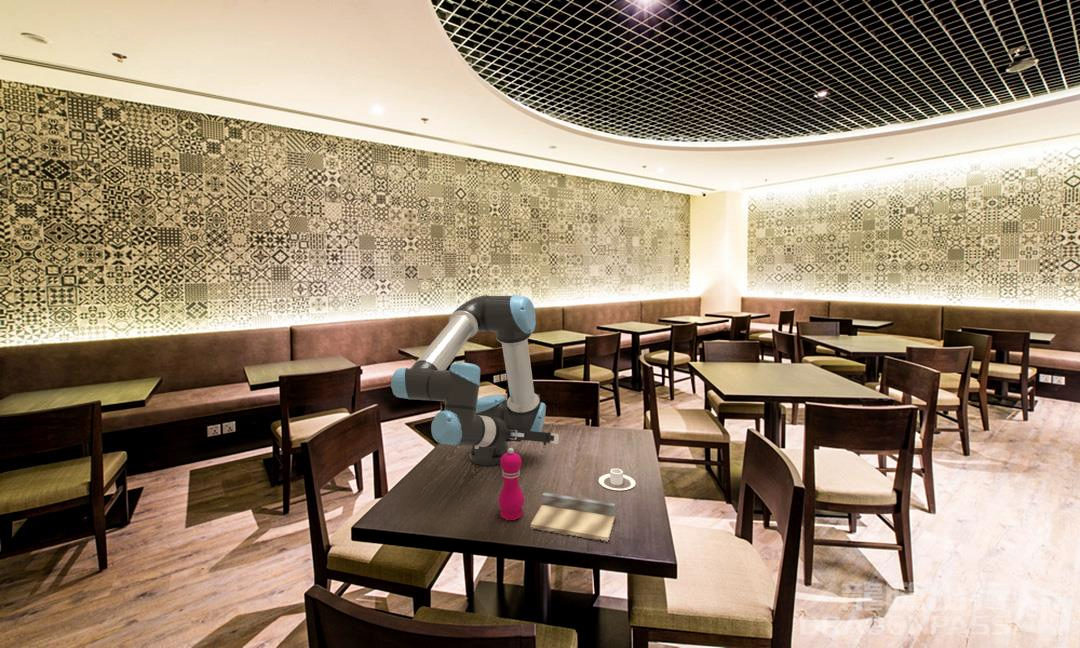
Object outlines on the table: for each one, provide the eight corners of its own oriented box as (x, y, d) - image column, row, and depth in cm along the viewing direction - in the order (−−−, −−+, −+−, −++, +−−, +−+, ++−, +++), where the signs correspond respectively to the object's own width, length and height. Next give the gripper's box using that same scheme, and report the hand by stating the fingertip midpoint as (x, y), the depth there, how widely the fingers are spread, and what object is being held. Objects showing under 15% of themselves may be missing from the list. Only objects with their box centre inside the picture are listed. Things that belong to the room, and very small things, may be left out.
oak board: (530, 529, 121) (530, 513, 121) (543, 507, 132) (543, 492, 132) (608, 543, 115) (608, 526, 114) (614, 518, 126) (615, 503, 126)
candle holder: (643, 486, 146) (643, 473, 145) (615, 496, 140) (615, 482, 139) (618, 472, 156) (618, 460, 155) (591, 481, 150) (591, 468, 149)
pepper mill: (527, 510, 130) (527, 444, 128) (518, 524, 123) (517, 454, 121) (504, 506, 133) (504, 441, 130) (494, 519, 126) (493, 451, 124)
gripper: (452, 443, 121) (505, 447, 137) (522, 451, 105) (573, 454, 121) (456, 415, 123) (508, 422, 138) (525, 418, 107) (575, 426, 123)
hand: (538, 437), depth 130 cm, fingers open, 13 cm apart
